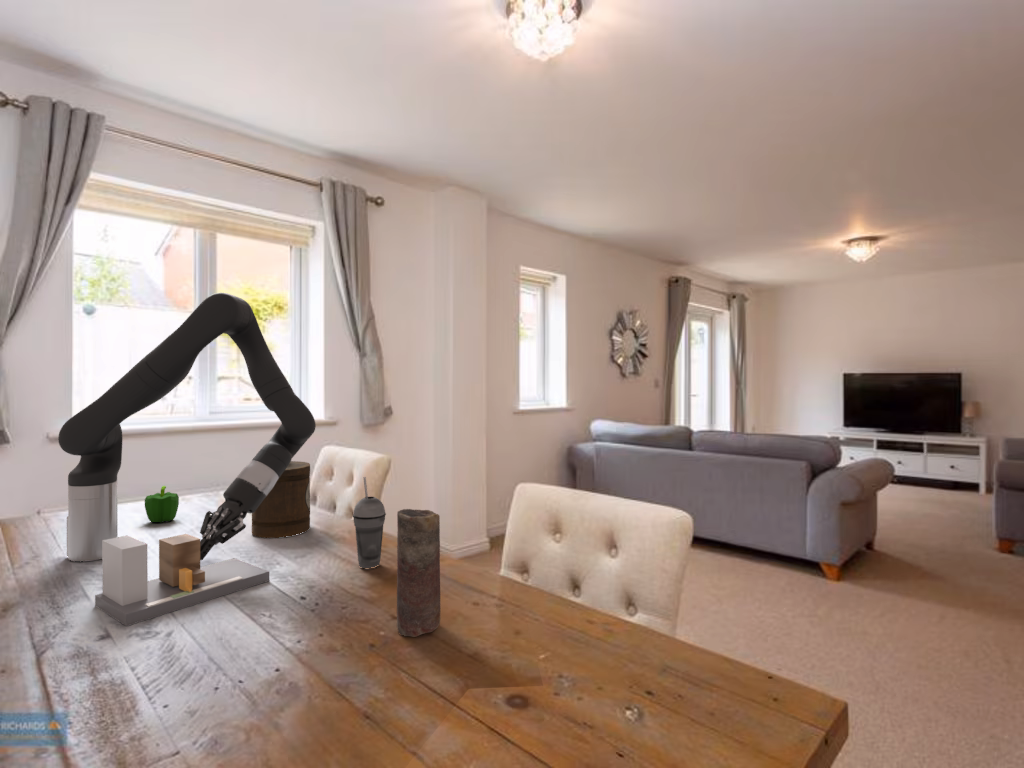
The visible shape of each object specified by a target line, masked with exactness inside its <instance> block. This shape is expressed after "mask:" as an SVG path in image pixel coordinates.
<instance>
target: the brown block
mask: <svg viewBox="0 0 1024 768" xmlns="http://www.w3.org/2000/svg"><path fill="white" fill-rule="evenodd" d="M200 541H201V538H199V537H196V536H193V535H190V534H187V533H184V534H178V535H174V536H169V537H165V538H160V539H158V569H159V570H158V571H159V572H158V578H159V580H160V581H162V582H164V583H166V584H168V585H170V586H172V587H174V586H178V585H179V569H183V568H187V569H190V570H192V584H193V585H196V584H200V583H203V582H205V571H203V570H200V567H201V560H200Z"/></svg>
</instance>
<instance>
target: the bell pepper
mask: <svg viewBox="0 0 1024 768" xmlns="http://www.w3.org/2000/svg"><path fill="white" fill-rule="evenodd" d="M166 489H167V486H166V485H162V486H161V488H160V492H157V493H154V494H150V495H146V496H145V499H144V509H145V514H146V516H147V520H149V522H150V521H151V522H160V523H165V522H164V521H169V522H171V521H170V520H172V521H173V519H175V518H176V517H177V512H178V508H179V505H180V504H179V503H180V497H179V495H178V493H175V492H171V491H167V492H165V491H166ZM162 521H163V522H162ZM151 522H150V523H151Z"/></svg>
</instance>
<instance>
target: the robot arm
mask: <svg viewBox="0 0 1024 768" xmlns="http://www.w3.org/2000/svg"><path fill="white" fill-rule="evenodd" d="M223 334H225V335H227V336H229V337H230V339H231V340H232V341H233V343H234V344H235V345H236V346H237V348H238V349H239V351H240V352H241V355H242V357H243V359H244V360H245V365H246V368H247V372H248V375H249V378H250V381H251V384H252V385H253V387H254V389H255V391H256V392H257V395H258V396H259V397H260V399H261V402H263V404H264V406H265V407H266V408H267V410H269V411H271V412H274V414H275V415H276V417H277V418H278V420H279V421H280V422H281V424H280V426H279V427H278V428H277V430H275V433H274V434H273V435H272V436H271V438H269V440H268V442H267V443H266V444H264V445H263V446H262V447H261V448H260V450H259V451H258V452H257V453H256V455H254V457H252V459H251V461H250V462H249V463H247V464H246V466H245V467H244V468H243V469H242V470H241V471H240V472H239V473H238V475H237V476H236V477H235V478H234V480H232V482H231V483H230V485H229V486H228V487H227V488H226V489H225V491H224V492H223V494H222V495H223V498H224V501H223V502H222V504H220V505H219V506H218V507H217V509H216V511H213V512H212V511H210V510H208V511H207V512H205V514H204V518H203V522H202V525H201V527H200V531H199V534H201V538H202V539H200V561H203V560H204V559H205V557H206V556H207V555H208V554H209V552H210V551H211V550H212V549H213V547H214V546H217V545H219V543H220V544H222V545H223V544H224V543H226V542H228V541H229V540H230V539H232V538H233V537H234V536H236V535H238V534H239V533H241V532H242V531H244V530H245V528H246V527H247V525H246V524H245V523H244V519H246V516H247V514H252V513H254V512H255V511H256V509H257V508H258V507H259V505H260V504H261V503H262V501H263V500H264V499H265V498H266V496H267V495H268V494H269V492H270V491H271V490H272V488H273V487H274V485H275V483H276V482H277V480H278V479H279V477H280V476H281V475H282V473H283V472H284V471H285V469H286V468H287V466H288V465H289V463H290V462H291V461H292V460H293V458H294V457H295V455H296V454H297V453H298V452H299V451H300V450H301V448H302V447H303V446H304V445H305V444H306V442H307V441H308V440H309V439H310V438H311V437H312V435H314V432H315V431H316V425H317V423H316V420H315V418H314V416H313V413H312V412H311V411H310V409H309V408H308V407H307V405H306V404H305V403H304V402H303V401H302V400H301V398H300V397H298V396H297V394H296V393H295V392H294V390H293V387H292V386H291V384H290V383H289V381H288V380H287V378H286V376H285V374H284V373H283V371H282V369H281V368H280V367H279V365H278V363H277V362H276V361H277V360H275V358H274V356H273V354H272V353H271V350H270V349H269V346H268V344H267V342H266V340H265V338H264V335H263V333H262V330H261V328H260V325H259V324H258V321H257V318H256V315H255V313H254V311H253V308H252V307H251V305H250V304H249V302H247V300H246V299H243V298H240V297H238V296H236V295H234V294H233V295H232V294H231V293H226V292H216V293H212V294H211V295H208V297H206V298H205V299H204V300H202V302H201V303H200V304H199V305H198V306H197V307H196V308H195V309H194V311H192V313H191V314H190V315H189V316H188V317H187V318H186V319H185V320H184V322H182V323H181V325H179V327H177V329H175V330H174V331H173V332H172V333H171V334H169V335H168V336H167V337H166V338H165V339H164V340H163V341H162V342H160V343H159V344H158V345H156V347H155V348H153V349H152V350H151V351H150V352H149V353H147V354H146V355H145V356H143V358H141V360H140V361H139V362H137V363H135V364H134V366H132V367H131V369H129V371H127V372H126V373H125V374H124V375H122V377H120V379H118V380H117V381H116V382H115V383H114V384H112V386H111V387H109V388H108V390H106V391H105V392H104V393H103V394H102V395H101V396H99V398H97V399H96V400H95V401H93V402H91V403H90V404H89V405H87V406H86V407H85V408H82V410H81V411H78V412H77V413H76V414H74V415H73V416H72V417H70V418H69V419H67V421H65V423H64V424H63V425H62V426H61V428H60V430H59V433H58V438H57V439H58V445H59V447H60V448H61V450H62V451H63V452H64V453H67V454H68V455H71V456H80V459H79V462H78V463H77V465H76V466H75V467H74V468H73V469H72V470H71V471H70V472H69V473H68V474H67V475H68V476H67V484H68V485H67V490H68V491H67V492H68V493H67V494H68V495H67V498H68V499H67V502H68V503H67V504H68V505H67V507H68V508H67V509H68V514H67V515H68V516H66V557H67V556H68V557H67V558H68V561H70V560H71V561H70V562H75V561H80V562H81V561H83V562H92V561H99V560H102V540H107V539H112V538H117V537H118V474H119V471H120V470H121V466H122V460H123V459H122V455H123V429H122V426H121V424H122V422H123V421H125V420H127V419H128V418H130V417H131V416H132V415H135V414H137V413H138V412H140V411H141V410H142V411H143V410H144V409H146V408H148V407H149V406H151V405H154V404H155V403H156V402H158V401H160V400H161V399H163V398H164V397H165V396H166V395H168V394H169V393H171V392H172V391H173V390H174V389H175V388H176V387H178V386H179V385H180V384H181V382H184V381H183V380H185V379H186V378H187V376H188V375H189V373H190V371H191V370H192V368H193V366H194V365H195V364H194V363H195V361H196V360H197V357H198V356H199V355H200V353H201V352H202V351H203V350H204V349H206V348H207V346H208V345H210V344H211V343H212V342H213V341H215V340H216V339H217V338H219V337H220V336H222V335H223ZM80 562H79V563H80ZM81 563H82V562H81Z"/></svg>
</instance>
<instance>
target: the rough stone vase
mask: <svg viewBox="0 0 1024 768" xmlns="http://www.w3.org/2000/svg"><path fill="white" fill-rule="evenodd" d="M396 516H397V525H396V527H397V532H396V533H397V535H396V537H397V544H396V545H397V546H396V547H397V549H396V553H397V559H396V561H397V563H396V564H397V565H396V567H397V569H396V573H397V574H396V576H397V577H396V628H397V632H398V634H399V633H400V634H401V635H400V634H399V635H400V636H402V635H404V636H403V637H413V638H417V637H419V636H421V635H423V634H427V633H432V632H434V631H436V629H438V628H439V626H440V623H441V618H442V617H441V563H440V562H441V561H440V560H441V537H440V534H441V533H440V532H441V531H440V528H441V527H440V514H438V513H436V512H434V511H432V510H429V509H412V508H403V509H399V510H398V511H397V515H396Z"/></svg>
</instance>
